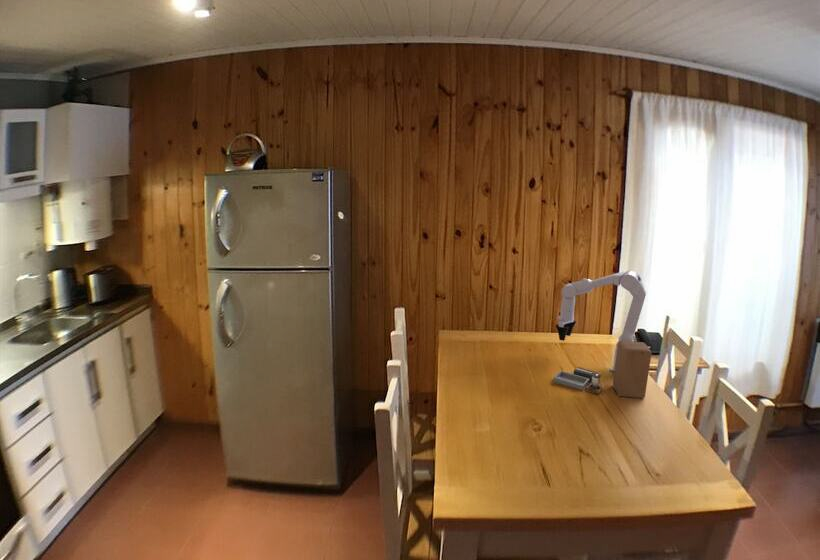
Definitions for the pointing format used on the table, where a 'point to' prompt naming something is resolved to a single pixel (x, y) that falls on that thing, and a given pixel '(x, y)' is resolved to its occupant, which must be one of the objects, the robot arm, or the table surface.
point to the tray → (571, 380)
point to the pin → (595, 380)
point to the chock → (584, 373)
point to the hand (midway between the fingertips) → (564, 337)
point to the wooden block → (631, 369)
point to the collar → (594, 389)
